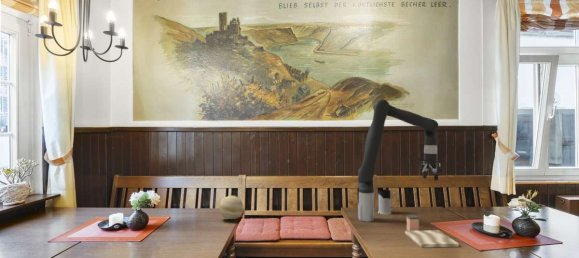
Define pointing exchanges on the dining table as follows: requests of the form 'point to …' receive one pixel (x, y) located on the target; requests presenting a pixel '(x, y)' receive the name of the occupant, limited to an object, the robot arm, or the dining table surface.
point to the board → (431, 238)
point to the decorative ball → (231, 207)
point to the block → (412, 223)
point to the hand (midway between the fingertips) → (430, 179)
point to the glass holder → (385, 201)
